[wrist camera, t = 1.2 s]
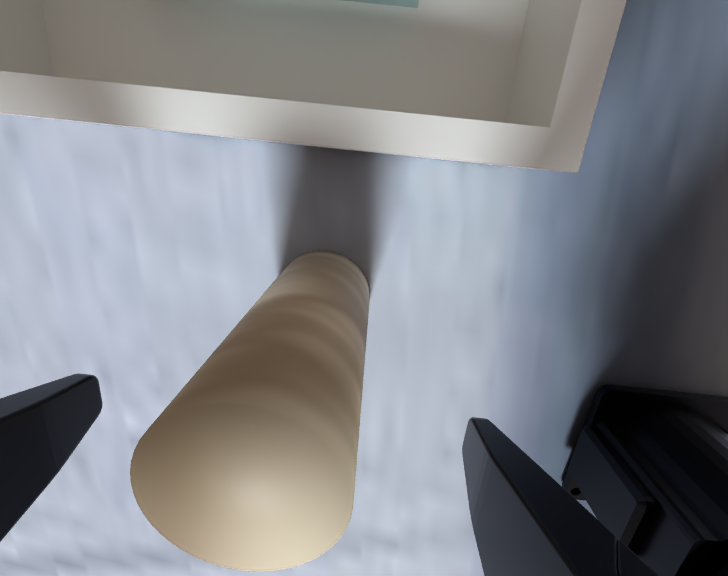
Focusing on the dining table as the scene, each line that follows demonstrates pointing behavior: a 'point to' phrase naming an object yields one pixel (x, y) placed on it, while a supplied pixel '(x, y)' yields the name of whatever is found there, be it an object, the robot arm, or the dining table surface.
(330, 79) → the box
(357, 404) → the dowel
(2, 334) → the dining table surface
